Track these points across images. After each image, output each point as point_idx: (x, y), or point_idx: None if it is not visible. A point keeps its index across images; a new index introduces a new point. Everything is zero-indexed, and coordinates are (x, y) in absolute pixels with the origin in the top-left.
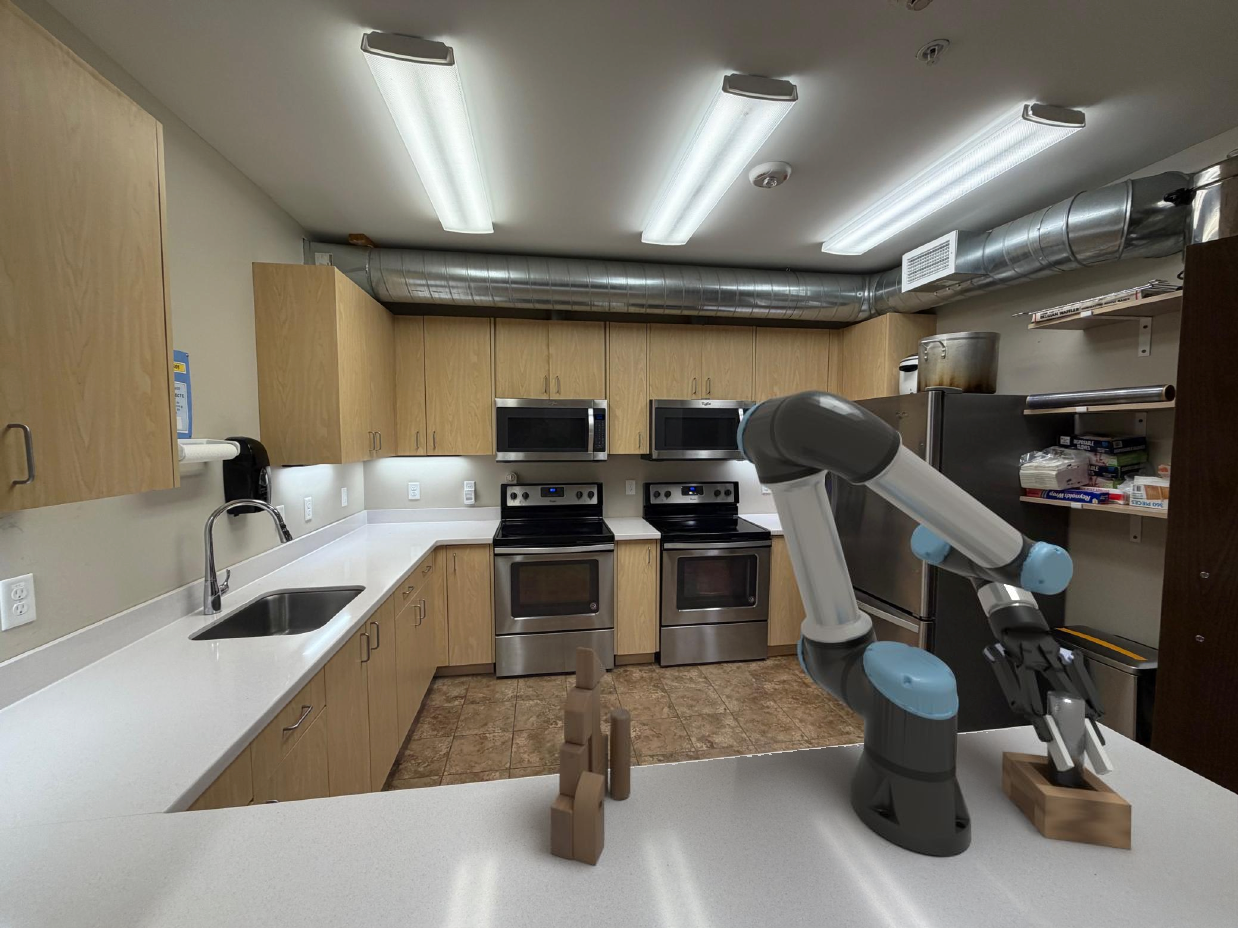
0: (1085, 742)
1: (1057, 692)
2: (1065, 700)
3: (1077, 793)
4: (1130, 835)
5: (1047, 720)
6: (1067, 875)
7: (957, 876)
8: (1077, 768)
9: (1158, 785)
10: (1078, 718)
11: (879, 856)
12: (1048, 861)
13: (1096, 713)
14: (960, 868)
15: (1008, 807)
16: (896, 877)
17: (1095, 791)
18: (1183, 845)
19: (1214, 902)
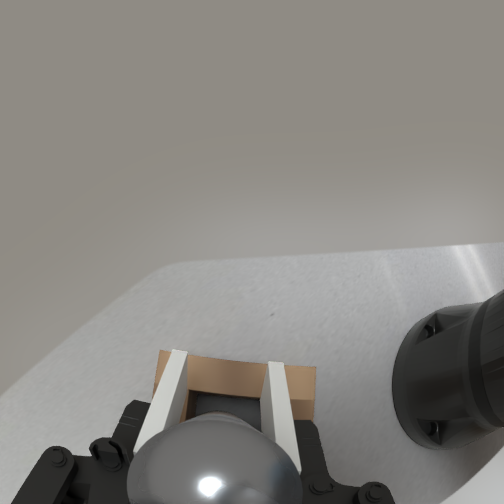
0: None
1: None
2: (253, 457)
3: (243, 380)
4: None
5: (298, 455)
6: (311, 308)
7: (425, 290)
8: (217, 411)
9: (15, 469)
10: (210, 416)
11: None
12: (320, 329)
13: (95, 445)
14: (421, 301)
15: None
16: (466, 281)
17: (197, 389)
18: (89, 369)
19: (155, 281)
